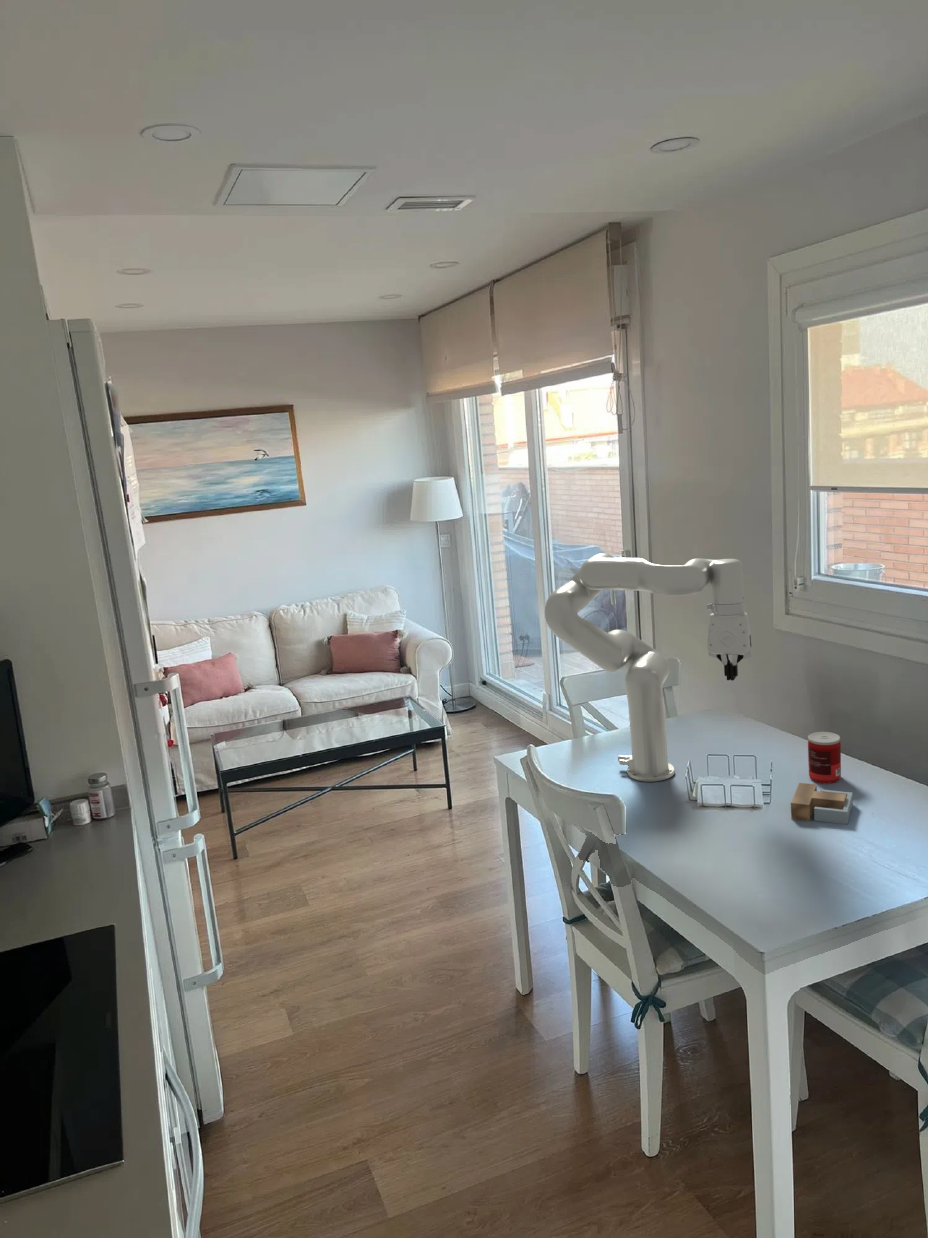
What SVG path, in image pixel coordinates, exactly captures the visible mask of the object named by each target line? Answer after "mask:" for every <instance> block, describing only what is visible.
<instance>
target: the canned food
mask: <svg viewBox="0 0 928 1238" xmlns="http://www.w3.org/2000/svg"><path fill="white" fill-rule="evenodd" d="M841 745H842V744H841V736H840V735H839V734H837V733H834V732H830V731H815V732H813V733H810V734H808V736H807V757H808V758H807V759H808V762H807V763H808V776H809V779H810V780H812V781H814V782H816V783H820V784H833V783H837V782H838V781H839V780H840V779H841V777H842V762H841V761H842V760H841V759H842V758H841V757H842V756H841V754H842V753H841V752H842V751H841V750H842V749H841V747H842V746H841Z"/></svg>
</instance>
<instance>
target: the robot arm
mask: <svg viewBox="0 0 928 1238" xmlns="http://www.w3.org/2000/svg"><path fill="white" fill-rule="evenodd" d="M742 563H743V562H742V561H741V560H739V559H737V558H722V559H710V558H699V557H698V558H693V559H690V560H688V561H687V562H686V563H684V564H683V565H668V564H667V565H664V564H663V565H662V564H656V563H651V562H649V561H648V560H646V559H645V558H643V557H614V556H612V555H611V554H609V553H604V552H603V553H602V552H601V553H597V554H594V555H592V556H591V557H589V558H587V560H585V561H584V562H583V563H582V564H581V566H580V569H579V570H578V571H577V572H576V573H575V574H574V575H573V576H572V577H571V578H570V579H569V580H568V581H567V582H565V583H564V584H563V585H560V586H559V587H558V588H556V589H555V590H554V591H553V592H551V593H550V595H549V596H548V597H547V600H546V603H545V606H544V618H545V622H546V624H547V626H548V628H549V630H550V631H551V632H552V633H553V634H554V636H556V638H558V639H559V640H560V641H562V642H564V643H565V644H566V645H568V646H569V647H571V648H572V649H574V650H575V651H577V652H579V653H580V654H581V655H582V656H584V657H585V658H587V659H588V660H589V661H591V662H593V664H595V665H596V666H598V667H599V668H601V670H604V671H606V672H608V673H615V672H618V671H620V670H622V669H625V670H626V674H625V678H624V688H625V693H626V698H627V706H628V719H629V729H630V744H631V745H630V746H631V754H630V755H625V754H618V756H617V761H618V762H619V765H620V766H622V765H623V766H627V769H626V771H627V773H626V775H628V777H630V778H631V779H633V780H636V781H639V782H650V783H651V782H660V781H665V780H668V779H670V778H671V777H673V776H674V775H675V774H676V773H675V770H676V769H675V767H674V765H673V764H671V763H670V762H669V755H668V753H669V752H668V750H669V749H668V734H667V717H666V706H665V704H666V703H665V699H664V698H665V697H664V691H663V685H664V684H665V682H666V680H667V678H668V677H669V675H670V665H669V661H668V659H666V657H665V656H664V655H663V654H662V653H660V651H658V649H657V650H656V649H655V648H654V647H652V646H651V645H649V644H647V643H646V642H645V641H643V640H642V639H640V638H639V637H637V636H636V635H634V634H632V633H631V632H629V631H626V630H624V629H612V630H610V631H608V632H607V631H605V630H604V629H601V628H600V627H599V626H597V625H596V624H595V623H593V622H591V621H590V620H587V619H584V618H583V617H581V616H580V615H579V612H581V611H582V610H583V609H584V608H585V607H587V606H588V605H589V604H590V603H591V602H592V601H593V600H594V599H595V598H596V597H598V595H599V594H600V593H602V592H603V591H636V592H637V591H639V592H643V593H649V594H655V595H660V596H661V595H663V596H664V595H665V596H694V595H698V594H699V593H701V592H702V591H704V589H705V588H706V587H709V586H711V595H712V596H711V597H712V599H711V600H712V602H711V603H707V604H706V609H707V610H711V613H710V614H709V617H708V624H707V625H708V626H707V627H708V628H707V650H708V656H709V657H712V658H715V659H718V660H719V661H720V662H721V663H722V665H723V671H724V677H726V681H734V680H735V679H736V677H738V676H739V672H738V671H739V670H738V668H739V667H738V663H740V662H741V660H743V659H748V658H749V659H750V658H752V656H753V651H752V644H753V643H752V633H751V625H750V621H749V620H750V619H749V616H748V613H747V612H746V611H745V601H744V600H745V598H744V597H745V595H744V594H745V593H744V573H743V570H744V569H743V564H742ZM730 655H731V656H732V658H731V660H730Z"/></svg>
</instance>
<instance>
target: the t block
mask: <svg viewBox="0 0 928 1238" xmlns="http://www.w3.org/2000/svg"><path fill="white" fill-rule="evenodd" d="M817 786H818V784H816V783H815V784H814V783H806V782H799V783H798V784H797V788H796V789H795V792H794V795H793V796H792V799H791V802H790V818H791V820H797V821H806V822H807V821H808V822H810V821H811V818H812V816H813V815H814V808H815V807H822V808H832V809H841V810H843V808H844V804H845V801H846V794H840V793H829V792H820V791H818V787H817Z"/></svg>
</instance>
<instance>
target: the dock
mask: <svg viewBox="0 0 928 1238" xmlns="http://www.w3.org/2000/svg"><path fill="white" fill-rule="evenodd" d="M819 792H829V793H840V794H846V801H845V804H844V808H843V810H841V809H832V808H822V807H815V808H814V814H813V815H814V822H824V823H832V824H833V823H834V824H840V825H841V824H842V825H848V824H849V821H850V817H851V813H852V809H853V805H854V803H853V801H854V800H853V798H854V797H853V796H854V795H853V793H854V792H852V791H851V792H849V791H839V790H829V789H820V791H819Z"/></svg>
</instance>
